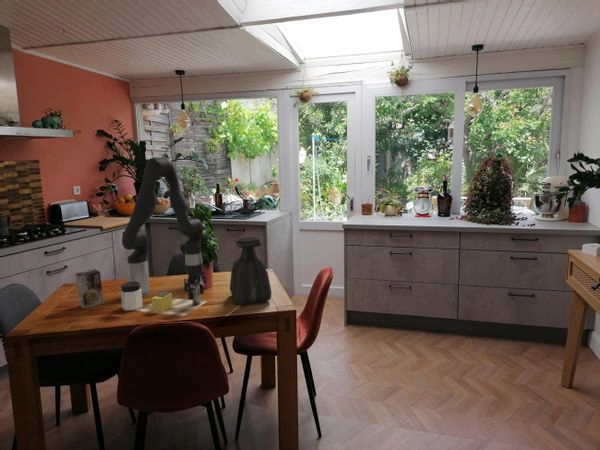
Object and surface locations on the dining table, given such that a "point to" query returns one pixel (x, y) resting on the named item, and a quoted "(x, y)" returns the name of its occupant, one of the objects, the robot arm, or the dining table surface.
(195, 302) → the peg
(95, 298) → the coffee box
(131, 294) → the jar
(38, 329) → the dining table surface
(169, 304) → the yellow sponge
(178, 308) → the panel
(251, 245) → the dark grey vase
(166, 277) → the dining table surface
